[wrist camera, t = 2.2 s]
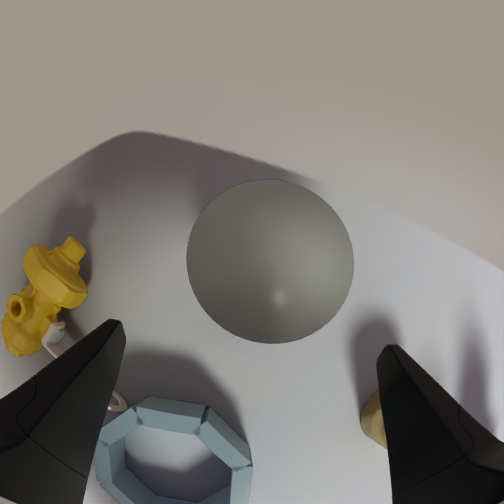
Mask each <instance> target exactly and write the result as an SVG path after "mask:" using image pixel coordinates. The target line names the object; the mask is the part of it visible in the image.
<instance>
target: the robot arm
mask: <svg viewBox="0 0 504 504" xmlns="http://www.w3.org/2000/svg"><path fill="white" fill-rule="evenodd" d="M125 344H126V336H125V332H124V329H123V325H122V322H121V321H119V320H115V319H108V320H107V321H106V322H104V323H103V324H101V325H100V326H99V327H97V328H96V329H95V330H93V331H92V332H91V333H89V334H88V335H87V336H85V337H84V338H83V339H81V340H80V341H79V342H77V343H76V344H75V345H73V346H72V347H71V348H69V349H68V350H67V351H65V352H64V353H63V354H61V355H60V356H59V357H57V358H56V359H55V360H53V361H52V362H51V363H50V364H48V365H47V366H46V367H44V368H43V369H42V370H41V371H39V372H38V373H37V374H36V375H34V376H33V377H31V378H30V379H29V380H28V381H26V382H25V383H24V384H22V385H21V386H20V387H18V388H17V389H15V390H14V391H12V392H11V393H9V394H8V395H6V396H5V397H3V398H2V399H0V504H83V499H84V494H85V490H86V485H87V481H88V476H89V472H90V468H91V464H92V460H93V456H94V453H95V449H96V445H97V442H98V438H99V435H100V431H101V428H102V425H103V421H104V418H105V415H106V412H107V409H108V406H109V403H110V400H111V397H112V394H113V391H114V388H115V385H116V382H117V378H118V374H119V369H120V365H121V361H122V356H123V352H124V348H125ZM376 366H377V376H378V387H379V398H380V405H381V411H382V417H383V423H384V429H385V435H386V442H387V450H388V457H389V466H390V475H391V486H392V502H393V504H504V442H502V441H500V440H498V439H497V438H496V437H495V436H494V435H492V434H491V433H490V432H489V431H488V430H487V429H485V428H484V427H483V426H482V425H481V424H480V423H478V422H477V421H476V420H475V419H474V418H473V417H472V416H471V415H470V414H469V413H468V412H467V411H466V410H465V409H464V408H463V407H462V406H461V405H460V404H458V403H457V402H456V401H455V400H454V399H453V398H452V397H451V396H450V395H449V394H448V393H447V392H446V391H445V390H444V389H443V388H442V387H441V386H440V385H439V384H438V383H437V382H436V381H435V380H434V379H433V378H432V377H431V376H430V375H429V374H428V373H427V372H426V371H425V370H424V369H423V368H422V367H421V366H420V365H419V364H418V363H417V362H416V361H414V360H413V359H412V358H411V357H410V356H409V355H408V354H407V353H406V352H405V351H404V350H403V349H402V348H401V347H400V346H399V345H397V344H388V345H386V346H385V348H384V349H383V351H382V352H381V354H380V356H379V357H378V359H377V363H376Z"/></svg>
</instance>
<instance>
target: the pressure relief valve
mask: <svg viewBox="0 0 504 504" xmlns="http://www.w3.org/2000/svg"><path fill="white" fill-rule="evenodd" d="M85 253H86V249H85V248H84V247H83V246H82V245H81V244H80V243H79V242H78V241H77V240H76V239H74V238H73V237H71V236H69V237H68V238H67V239H66V241H65V242H64V243H63V245H61V247H59V246H56V247H55V248H54V249H53V250H50V249H49V248H47V247H45V246H43V245H40V244H37V245H31V246H30V248H29V249H28V251H27V252H26V254H25V256H24V257H23V264H24V271H25V273H26V275H27V277H28V279H29V280H30V282H29V285H28V286H26V288H25V289H21V290H20V293H19V295H17V294H13V295H11V297H10V298H9V300H8V302H7V311H8V312H7V313H6V314H5V316H4V318H3V320H2V329H1V331H2V335H3V337H4V339H5V345H6V348H7V349H8V350H9V351H10V352H11V353H12V354H13V355H15V356H17V357H22V356H24V355H26V356H32V355H34V354H35V353H36V352H38V351H39V350H40V348H41V346H42V345H43V346H44V347H45V348H46V349H47V350H48V351H49V352H50V353H51V354H52V355H53V356H54V357H55V358H57V357H59V356H60V355H61V354H63V353H64V352H65V350H64V349H63V348H62V347H61V346H60V345H59V344H58V342H59V341H60V340H61V339H62V337H63V336H64V332H65V331H64V330H63V329H64V327H65V325H66V324H65V322H64V321H62V322H57V313H59V312H60V311H61V307H65V308H69V309H72V308H75V307H79V306H81V304H82V303H83V301H84V300H85V298H86V297H87V295H88V292H87V287H86V284H85V282H84V281H83V279H82V278H81V277H80V275H79V270H80V265H79V262H80V260H81V258H82V257H83V256H84V254H85ZM112 395H113V396H114V397H115V398H116V399H117V401H118V402H119V406H116V405H113V404H111V403H109V406H108V409H109V410H110V411H113V412H115V413H124V412H125V411H126V409H127V404H126V402H125V400H124V399H123V398H122V397H121V396H120V395H119V394H118V393H116V392H115V391H113V394H112Z"/></svg>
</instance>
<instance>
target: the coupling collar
mask: <svg viewBox="0 0 504 504" xmlns="http://www.w3.org/2000/svg"><path fill="white" fill-rule="evenodd" d="M205 407H206V405H204V404H196V403H189V402H182V401H176V400H170V399H164V398H159V397H154V396H150V397H148V398H146V397H145V398H143V399H142V400H141V401H139V402H138V403H136V404H135V405H134V406H132V407H131V408H129V409H128V410H127V411H125V412H124V413H122V414H121V415H120V416H118V417H117V418H115V419H114V420H112V421H111V422H110V423H108V424H107V425H105V426H104V427H103V428H101V431H100V435H99V438H98V442H97V445H96V449H95V453H94V461H95V468H96V475H97V481H99V482H102V483H101V484H100V486H101V487H102V488H103V489H104V490H105V491H106V492H107V493H109V494H110V495H111V496H112V497H113V498H114V499H115V500H116V501H117V502H118V503H119V504H249V499H250V490H251V481H252V472H253V464H252V457H251V451H250V448H249V445H248V444H247V443H246V442H245V441H244V440H243V439H242V438H241V437H240V436H239V435H238V434H237V433H236V432H235V431H234V430H233V429H232V428H231V427H230V426H229V425H228V424H227V423H226V422H225V421H224V420H223V419H222V418H221V417H220V416H219V415H218V414H217V413H216V412H215V411H214V410H213V409H212V408H211V407H210V408H209V409H207V410H206V411H205ZM140 425H144V426H148V427H153V428H158V429H163V430H168V431H174V432H180V433H186V434H193V435H196V436H197V437H198V438H199V439H200V440H201V441H202V442H203V443H204V444H205V445H206V446H207V447H208V448H209V449H210V450H211V451H212V452H213V453H214V454H216V455H217V456H218V457H219V458H220V459H221V460H222V461H223V462H224V463H226V464H227V465H228V466H229V467H230V468H231V478H230V485H229V486H227V487H225V488H224V489H222V490H220V491H218V492H217V493H215V494H213V495H211V496H209V497H207V498H205V499H203V500H201V501H200V502H192V501H185V500H179V499H173V498H168V497H163V496H159V495H155V494H154V493H153V492H152V491H151V490H150V489H149V488H148V487H146V486H145V485H144V484H143V483H142V482H141V481H140V480H139V479H138V478H137V477H136V476H135V475H134V474H133V473H132V472H131V471H130V470H129V469H128V468H127V467H126V462H125V446H124V436H125V435H127V434H128V433H130V432H131V431H133V430H134V429H136V428H137V427H139V426H140Z"/></svg>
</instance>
